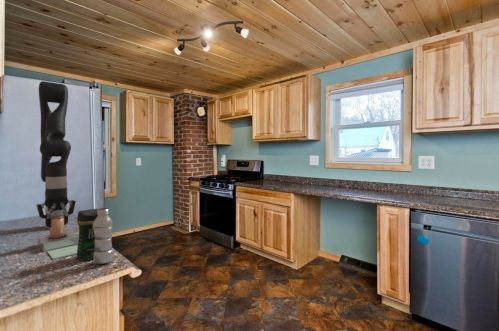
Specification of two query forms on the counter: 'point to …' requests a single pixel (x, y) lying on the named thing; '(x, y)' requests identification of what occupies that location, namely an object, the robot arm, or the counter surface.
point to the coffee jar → (86, 234)
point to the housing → (57, 242)
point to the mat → (63, 252)
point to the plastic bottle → (103, 237)
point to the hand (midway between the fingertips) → (57, 225)
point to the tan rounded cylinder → (57, 226)
